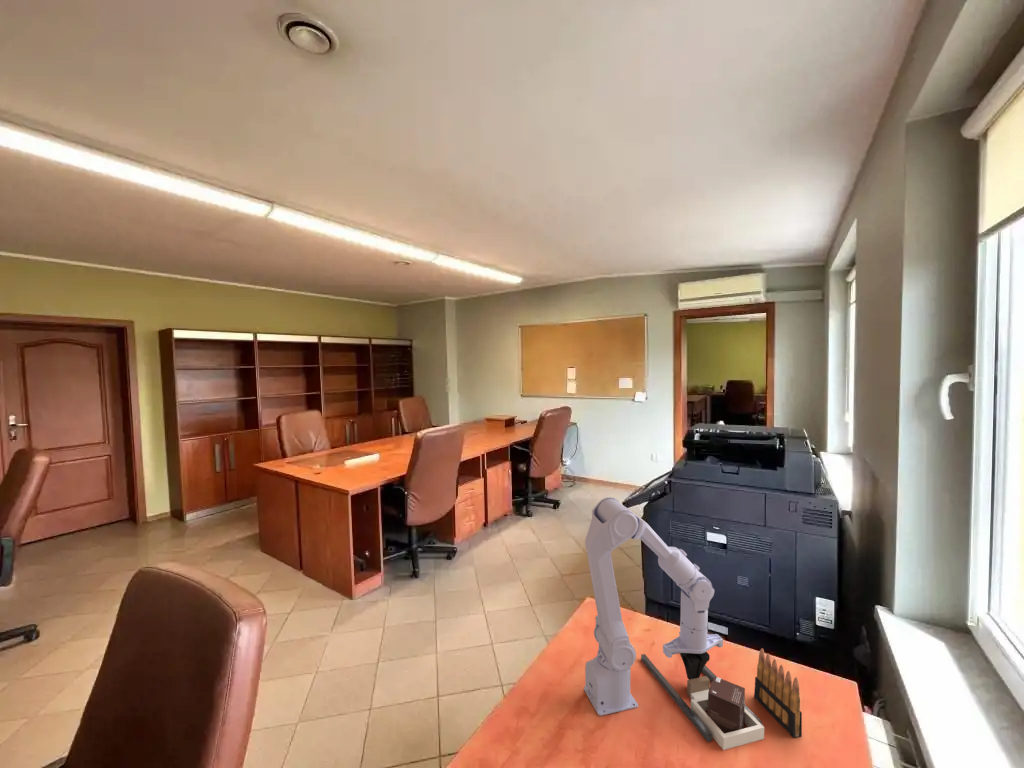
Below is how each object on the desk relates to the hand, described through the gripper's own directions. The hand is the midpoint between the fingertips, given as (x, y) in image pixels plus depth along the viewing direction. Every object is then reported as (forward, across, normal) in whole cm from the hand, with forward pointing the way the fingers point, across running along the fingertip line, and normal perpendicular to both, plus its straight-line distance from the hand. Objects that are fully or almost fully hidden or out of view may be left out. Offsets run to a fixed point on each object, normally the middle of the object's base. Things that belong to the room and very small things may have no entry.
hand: (692, 680), depth 98 cm
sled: (+2, 0, +8) cm, 8 cm away
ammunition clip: (+2, -12, +11) cm, 17 cm away
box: (+2, 0, +10) cm, 11 cm away
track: (+2, 0, +1) cm, 2 cm away
